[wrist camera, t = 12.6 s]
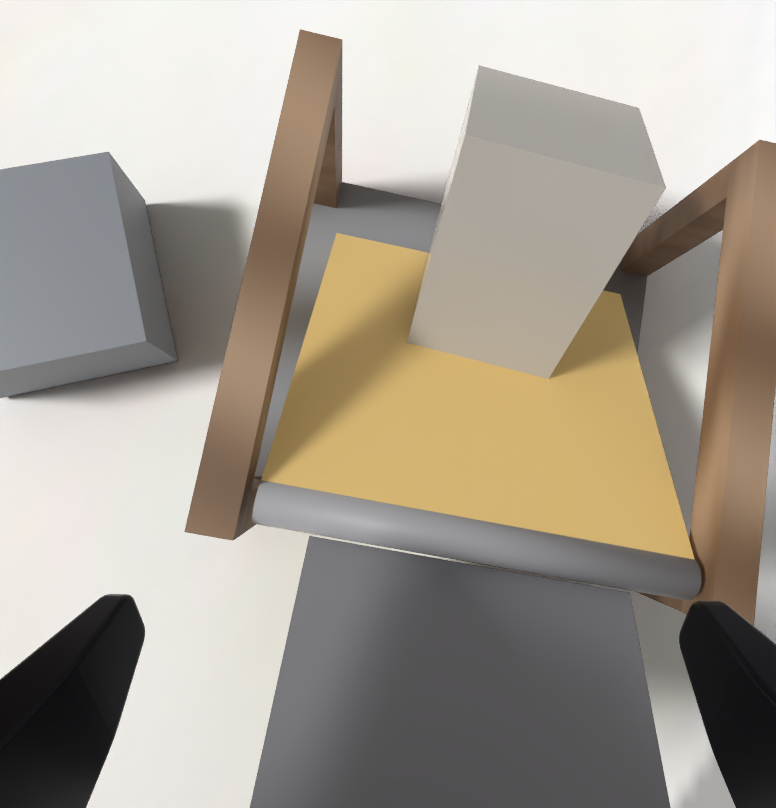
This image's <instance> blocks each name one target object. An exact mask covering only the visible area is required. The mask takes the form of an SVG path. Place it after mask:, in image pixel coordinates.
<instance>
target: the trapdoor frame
mask: <svg viewBox="0 0 776 808" xmlns="http://www.w3.org/2000/svg"><path fill="white" fill-rule="evenodd" d="M440 206H441V204H438V203H434V202H429V201H425V200H420V199H416V198H411V197H407V196H402V195H398V194H393V193H389V192H384V191H380V190H375V189H371V188H366V187H362V186H357V185H353V184H348V183H344V182H342V39H338V38H333V37H329V36H325V35H321V34H317V33H313V32H308V31H304V30H300V32H299V36H298V41H297V45H296V49H295V54H294V58H293V62H292V67H291V71H290V75H289V80H288V84H287V88H286V93H285V97H284V102H283V106H282V110H281V115H280V119H279V123H278V128H277V132H276V136H275V141H274V145H273V149H272V154H271V158H270V162H269V167H268V171H267V175H266V180H265V184H264V189H263V193H262V197H261V202H260V206H259V210H258V215H257V219H256V223H255V228H254V232H253V236H252V241H251V245H250V249H249V254H248V258H247V262H246V267H245V271H244V276H243V280H242V284H241V289H240V293H239V297H238V302H237V306H236V310H235V315H234V319H233V323H232V328H231V332H230V336H229V341H228V345H227V349H226V354H225V358H224V362H223V367H222V371H221V376H220V380H219V384H218V389H217V393H216V397H215V402H214V406H213V410H212V415H211V419H210V423H209V428H208V432H207V436H206V441H205V445H204V449H203V454H202V458H201V463H200V467H199V471H198V476H197V480H196V484H195V489H194V493H193V497H192V502H191V506H190V510H189V515H188V519H187V523H186V528H185V532H188V533H194V534H199V535H205V536H211V537H216V538H222V539H228V540H234V539H236V538H237V537H239V536H240V535H242V534H243V533H244V532H246V531H247V530H249V529H250V528H251V527H253V526H254V525H256V524H254V523H252V513H253V507H254V502H255V498H256V494H257V490H258V487H259V484H260V482H261V479H262V476H263V473H264V469H265V466H266V463H267V459H268V456H269V453H270V450H271V446H272V443H273V440H274V437H275V433H276V430H277V427H278V423H279V420H280V417H281V414H282V410H283V407H284V404H285V400H286V397H287V394H288V391H289V387H290V384H291V381H292V378H293V374H294V371H295V368H296V364H297V361H298V358H299V355H300V351H301V348H302V345H303V342H304V338H305V335H306V332H307V328H308V325H309V322H310V319H311V315H312V312H313V309H314V305H315V302H316V299H317V296H318V292H319V289H320V286H321V283H322V279H323V276H324V273H325V269H326V266H327V263H328V260H329V256H330V253H331V250H332V246H333V243H334V240H335V237H336V233H339V234H344V235H349V236H353V237H358V238H363V239H367V240H372V241H376V242H381V243H386V244H390V245H395V246H400V247H404V248H409V249H414V250H418V251H423V252H428V250H429V246H430V242H431V239H432V235H433V231H434V228H435V224H436V220H437V217H438V213H439V209H440ZM721 230H723V236H722V245H721V254H720V263H719V272H718V281H717V291H716V300H715V309H714V318H713V327H712V337H711V346H710V355H709V364H708V373H707V382H706V392H705V401H704V410H703V419H702V428H701V438H700V447H699V456H698V465H697V474H696V483H695V493H694V502H693V511H692V520H691V529H690V538H689V541H690V544H691V548H692V552H693V555H694V559H695V560H696V562H697V563H698V565H699V567H700V571H701V578H702V579H701V587H700V590H699V593H698V594H697V596H696V597H695V598H694V599H692V600H681V599H676V598H670V597H664V596H659V595H653V594H648V593H642V592H638V593H640V594H642V595H645V596H647V597H649V598H652V599H654V600H656V601H658V602H661V603H663V604H665V605H668V606H670V607H672V608H675V609H677V610H679V611H682V612H684V613H686V614H687V613H688V611H689V608H690V606H691V604H692V603H693V602H695V601H698V600H712V601H721V602H723V603H725V604H727V605H728V606H730V607H731V608H732V609H733V610H734V611H736V612H737V613H738V614H739V615H741V616H742V617H743V618H744V619H746V620H747V621H748V622H749V623H750V624H752V625H753V626H754V617H755V606H756V595H757V584H758V573H759V562H760V551H761V540H762V529H763V518H764V508H765V497H766V486H767V475H768V464H769V453H770V442H771V431H772V420H773V409H774V398H775V388H776V143H771V142H767V141H763V140H759V141H758V142H756V143H755V144H754V145H752V146H751V147H750V148H749V149H747V150H746V151H745V152H743V153H742V154H741V155H740V156H738V157H737V158H736V159H734V160H733V161H732V162H731V163H729V164H728V165H727V166H725V167H724V168H723V169H721V170H720V171H719V172H718V173H716V174H715V175H714V176H712V177H711V178H710V179H709V180H707V181H706V182H705V183H703V184H702V185H701V186H700V187H698V188H697V189H696V190H694V191H693V192H692V193H691V194H689V195H688V196H687V197H685V198H684V199H683V200H681V201H680V202H679V203H678V204H676V205H675V206H674V207H672V208H671V209H670V210H669V211H667V212H666V213H665V214H663V215H662V216H661V217H660V218H658V219H657V220H656V221H654V222H653V223H652V224H651V225H649V226H648V227H647V228H645V229H644V230H643V231H642V232H640V233H639V234H638V235H637V236H636V237H635V239H634V240H633V242H632V244H631V245H630V247H629V249H628V250H627V252H626V253H625V255H624V257H623V258H622V260H621V262H620V263H619V265H618V266H617V268H616V270H615V271H614V273H613V275H612V276H611V278H610V280H609V281H608V283H607V284H606V286H605V288H604V289H603V290H604V291H608V292H613V293H618V294H620V295H621V298H622V302H623V306H624V309H625V313H626V316H627V320H628V323H629V327H630V330H631V334H632V338H633V341H634V345H635V348H636V352H637V351H638V343H639V335H640V327H641V319H642V311H643V303H644V295H645V288H646V280H647V276H648V275H650V274H651V273H653V272H655V271H656V270H658V269H660V268H661V267H663V266H664V265H666V264H668V263H669V262H671V261H673V260H674V259H676V258H677V257H679V256H681V255H682V254H684V253H686V252H687V251H689V250H690V249H692V248H694V247H695V246H697V245H699V244H700V243H702V242H703V241H705V240H707V239H708V238H710V237H712V236H713V235H715V234H716V233H718V232H720V231H721ZM635 592H636V591H635Z"/></svg>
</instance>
